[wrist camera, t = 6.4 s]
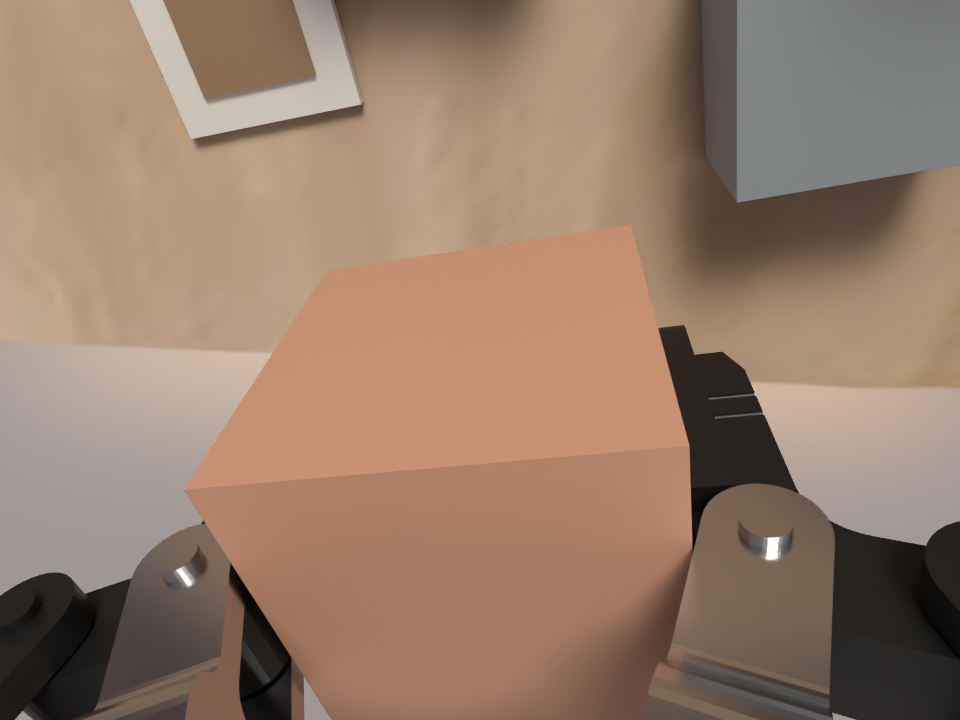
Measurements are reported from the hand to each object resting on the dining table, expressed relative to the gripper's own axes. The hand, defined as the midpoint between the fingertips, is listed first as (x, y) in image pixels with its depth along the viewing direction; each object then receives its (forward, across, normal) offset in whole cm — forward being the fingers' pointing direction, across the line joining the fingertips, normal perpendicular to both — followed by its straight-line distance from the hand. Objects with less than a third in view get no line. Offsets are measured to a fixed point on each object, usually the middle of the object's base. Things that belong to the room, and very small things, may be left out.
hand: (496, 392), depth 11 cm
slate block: (+16, -10, -2) cm, 19 cm away
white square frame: (+16, +9, -6) cm, 19 cm away
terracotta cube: (0, 0, 0) cm, 0 cm away
